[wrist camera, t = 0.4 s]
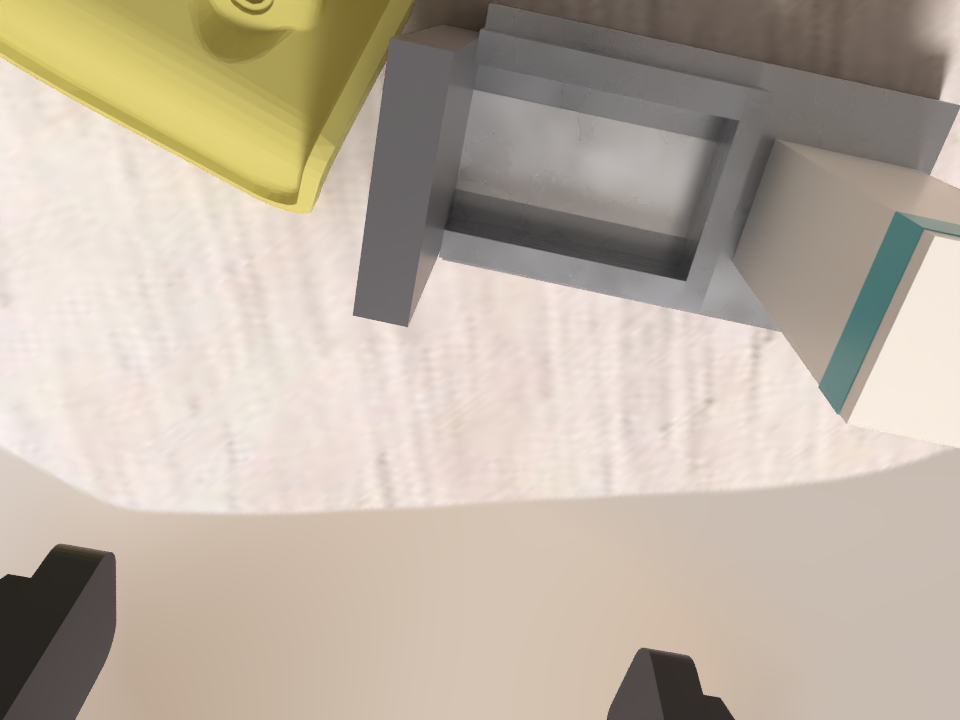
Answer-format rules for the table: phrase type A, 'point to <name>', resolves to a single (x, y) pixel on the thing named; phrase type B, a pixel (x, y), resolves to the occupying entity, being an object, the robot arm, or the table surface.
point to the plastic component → (217, 77)
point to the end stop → (414, 167)
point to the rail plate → (647, 157)
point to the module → (862, 284)
